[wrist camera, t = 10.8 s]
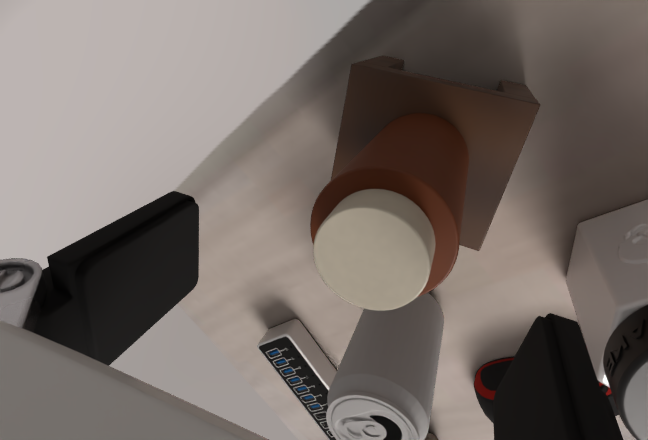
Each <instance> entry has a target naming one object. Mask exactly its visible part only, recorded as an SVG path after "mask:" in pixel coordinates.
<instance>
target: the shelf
mask: <svg viewBox="0 0 648 440" xmlns="http://www.w3.org/2000/svg"><path fill="white" fill-rule="evenodd" d="M403 64H404V60H402V59H397V58H392V57H388V56H379V57H375V58H372V59H368V60H364V61H361V62H357V63H353V64H352V65H351V71H350V76H349V82H348V87H347V93H346V99H345V104H344V110H343V115H342V121H341V127H340V132H339V138H338V143H337V149H336V154H335V160H334V166H333V171H332V177H331V180H332V179H333V178H334V177H335V176H336V175H337V174H338V173H339V172H340V171H341V170H342V169H343V168H344V167H345V166H346V165H347V164H348V163H349V162H350V161H351V160H352V159H353V158H354V157H355V156H356V155H357V154H358V153H359V152H360V151H361V150H362V149H363V148H364V147H365V146H366V145H367V144H368V143H369V142H370V141H371V140H372V139H373V138H374V137H375V136H376V135H377V134H378V133H379V132H380V131H381V130H382V129H383V128H385V127H386V126H387V125H388V124H389V123H391V122H392V121H393V120H395V119H397V118H399V117H402V116H404V115H408V114H414V113H426V114H432V115H435V116H438V117H440V118H442V119H445V120H446V121H448V122H449V123H451V124H452V125H453V126H454V127H455V128H456V129H457V130H458V131H459V132H460V134H461V135H462V137H463V139H464V141H465V143H466V146H467V149H468V155H469V165H468V174H467V182H466V191H465V199H464V208H463V217H462V225H461V234H460V242H459V245H461V246H465V247H468V248H471V249H474V250H478V251H479V250H480V248H481V246H482V243H483V241H484V239H485V236H486V234H487V231H488V229H489V227H490V224H491V222H492V219H493V217H494V215H495V212H496V210H497V207H498V205H499V203H500V200H501V198H502V195H503V193H504V191H505V188H506V186H507V183H508V181H509V179H510V176H511V174H512V171H513V169H514V167H515V164H516V162H517V159H518V157H519V155H520V152H521V150H522V148H523V145H524V143H525V140H526V138H527V136H528V133H529V131H530V128H531V126H532V124H533V121H534V119H535V116H536V114H537V112H538V109H539V107H540V104H539V102H538V101H537V100H536V99H535V97H534V96H533V94H532V93H531V92H530V90H529V89H528V87H527V86H526V85H523V84H518V83H513V82H508V81H503V80H501V81H500V84H499V87H498V89H497V91H495V90H491V89H486V88H481V87H477V86H472V85H467V84H463V83H458V82H453V81H449V80H444V79H439V78H435V77H430V76H425V75H420V74H416V73H411V72H406V71H402V68H403Z"/></svg>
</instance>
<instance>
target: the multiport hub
mask: <svg viewBox="0 0 648 440" xmlns="http://www.w3.org/2000/svg"><path fill="white" fill-rule="evenodd" d="M257 347H258V349H259V350H260V352H261V353H262V354H263V355H264V357H265V358H266V359H267V361H268V362H269V363H270V365H271V366H272V367H273V368H274V370H275V371H276V372H277V374H278V375H279V376H280V377H281V379H282V380H283V381H284V383H285V384H286V385H287V386H288V388H289V389H290V390H291V392H292V393H293V394H294V395H295V397H296V398H297V399H298V401H299V402H300V403H301V405H302V406H303V407H304V408H305V410H306V411H307V412H308V414H309V415H310V416H311V417H312V419H313V420H314V421H315V423H316V424H317V425H318V426H319V428H320V429H321V430H322V432H323V433H324V434H325V435H326V437H327V438H328V439H329V440H336V439H335V437H334V436H333V435H332V433H331V431H330V430H329V427H328V425H327V420H326V413H327V409H328V402H327V397H328V391H329V389H330V387H331V384H332V382H333V380H334V377H335V375H336V373H337V371H336V369H335V368H334V367H333V365H332V364H331V363H330V361H329V360H328V358H327V357H326V356H325V354H324V353H323V352H322V350H321V349H320V348H319V346H318V345H317V344H316V342H315V341H314V340H313V338H312V337H311V336H310V334H309V333H308V331H307V330H306V329H305V327H304V326H303V325H302V323H301V322H300V321H299V320H298V319H293V320H290V321H288V322H285V323H283V324H280V325H278V326H275V327H273V328H270V329H268V331H267V332H266V334H265V335H264V336H263V338H262V339H261V340H260V342H259V343H258V345H257Z"/></svg>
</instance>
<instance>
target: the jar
mask: <svg viewBox="0 0 648 440" xmlns="http://www.w3.org/2000/svg"><path fill="white" fill-rule="evenodd" d="M566 284H567V287H568V290H569V293H570V296H571V299H572V303H573V306H574V309H575V312H576V315H577V318H578V321H579V324H580V328H581V331H582V334H583V337H584V340H585V343H586V346H587V349H588V353H589V356H590V359H591V362H592V365H593V368H594V371H595V374H596V377H597V380H598V381H599V382H601V383H603V384H604V385H606V386H607V387H609V388H610V389H611V392H612V395H613V398H614V401H615V404H616V407H617V410H618V412H619V415H620V417H621V419H622V421H623V423H624V425H625V426H626V428H627V429H628V430H629V432H630V433H631V434H632V435H633V436H634V437H635V438H636V440H648V199H647V200H644V201H641V202H638V203H635V204H633V205H630V206H627V207H624V208H621V209H618V210H615V211H612V212H609V213H606V214H603V215H601V216H598V217H595V218H592V219H589V220H586V221H583V222H580V223H579V224H578V226H577V231H576V235H575V240H574V245H573V249H572V254H571V259H570V263H569V268H568V272H567V277H566Z"/></svg>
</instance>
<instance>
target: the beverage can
mask: <svg viewBox="0 0 648 440" xmlns="http://www.w3.org/2000/svg"><path fill="white" fill-rule="evenodd" d="M443 326H444V316H443V312H442V310H441V307H440V305H439V304H438V302H437V301H436V300H435V299H434V298H433V297H432V296H431V295H430V294H429V293H426V294H424V295H421V296H419V297H416V298H415V299H414V300H413V301H411V302H410V303H408V304H406V305H404V306H402V307H399V308H396V309H392V310H379V311H378V310H369V309H364V310H363V313H362V315H361V317H360V320H359V322H358V324H357V327H356V329H355V331H354V334H353V336H352V338H351V340H350V343H349V345H348V347H347V350H346V352H345V354H344V357H343V359H342V361H341V363H340V366H339V368H338V370H337V373H336V375H335V377H334V380H333V382H332V384H331V387H330V389H329V391H328V397H327V402H328V409H327V413H326V420H327V425H328V427H329V430H330V431H331V433H332V435H333V436H334V437H335V439H336V440H424V439H425V438H426V435H427V433H428V429H429V423H430V416H431V409H432V402H433V395H434V388H435V381H436V374H437V367H438V361H439V354H440V347H441V340H442V333H443Z"/></svg>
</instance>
